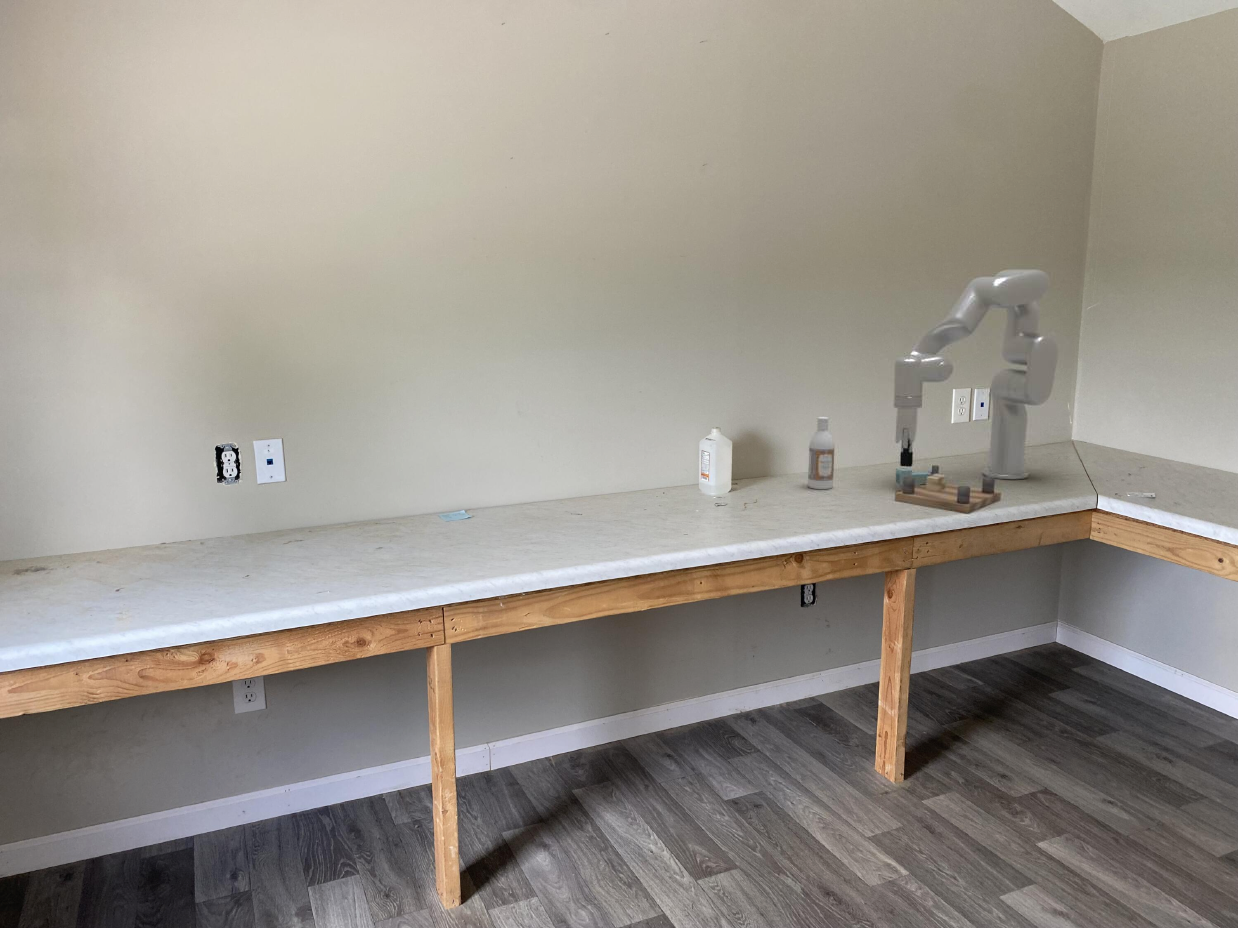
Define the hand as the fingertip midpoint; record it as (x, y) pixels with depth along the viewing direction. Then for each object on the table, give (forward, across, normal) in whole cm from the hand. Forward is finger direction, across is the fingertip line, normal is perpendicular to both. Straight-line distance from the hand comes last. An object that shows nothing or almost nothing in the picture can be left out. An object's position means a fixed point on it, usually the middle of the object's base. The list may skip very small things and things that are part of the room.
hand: (906, 465), depth 259 cm
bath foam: (+5, +10, -22) cm, 25 cm away
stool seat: (+6, +13, +12) cm, 19 cm away
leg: (+4, +5, +4) cm, 7 cm away
